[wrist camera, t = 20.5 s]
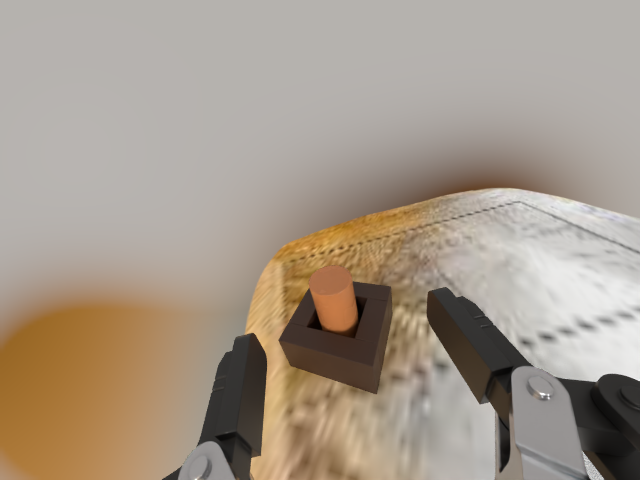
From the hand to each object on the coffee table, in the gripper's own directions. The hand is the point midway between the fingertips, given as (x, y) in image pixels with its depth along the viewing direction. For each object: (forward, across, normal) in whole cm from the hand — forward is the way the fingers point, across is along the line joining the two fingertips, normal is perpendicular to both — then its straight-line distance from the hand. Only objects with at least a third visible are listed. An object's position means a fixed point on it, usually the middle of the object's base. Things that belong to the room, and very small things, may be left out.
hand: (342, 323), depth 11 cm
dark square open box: (+11, 0, +17) cm, 20 cm away
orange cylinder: (+11, 0, +17) cm, 20 cm away
